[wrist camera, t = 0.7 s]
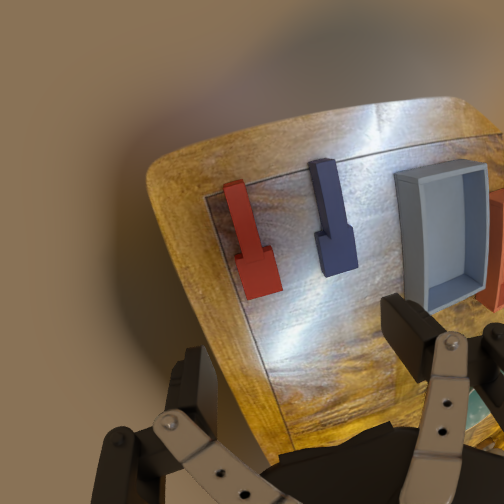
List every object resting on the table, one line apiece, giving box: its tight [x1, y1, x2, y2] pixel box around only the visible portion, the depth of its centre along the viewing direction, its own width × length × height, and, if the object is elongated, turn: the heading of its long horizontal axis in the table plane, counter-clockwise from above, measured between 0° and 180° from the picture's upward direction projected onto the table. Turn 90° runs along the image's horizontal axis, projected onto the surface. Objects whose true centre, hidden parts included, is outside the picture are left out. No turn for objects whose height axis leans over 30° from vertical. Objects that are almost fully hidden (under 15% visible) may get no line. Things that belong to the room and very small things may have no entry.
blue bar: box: [308, 158, 358, 278], centre depth 28 cm, size 11×4×3 cm, turn 15°
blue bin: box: [394, 159, 490, 315], centre depth 28 cm, size 15×10×4 cm
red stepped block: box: [223, 179, 283, 300], centre depth 28 cm, size 11×4×3 cm, turn 15°
